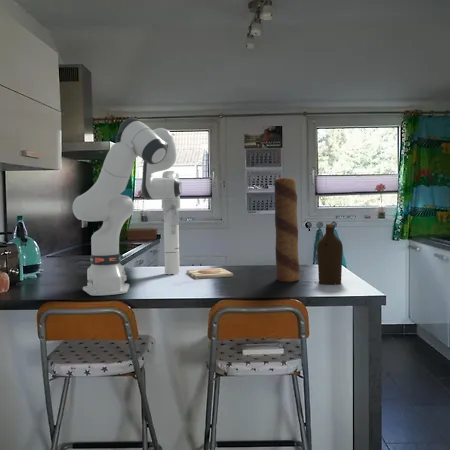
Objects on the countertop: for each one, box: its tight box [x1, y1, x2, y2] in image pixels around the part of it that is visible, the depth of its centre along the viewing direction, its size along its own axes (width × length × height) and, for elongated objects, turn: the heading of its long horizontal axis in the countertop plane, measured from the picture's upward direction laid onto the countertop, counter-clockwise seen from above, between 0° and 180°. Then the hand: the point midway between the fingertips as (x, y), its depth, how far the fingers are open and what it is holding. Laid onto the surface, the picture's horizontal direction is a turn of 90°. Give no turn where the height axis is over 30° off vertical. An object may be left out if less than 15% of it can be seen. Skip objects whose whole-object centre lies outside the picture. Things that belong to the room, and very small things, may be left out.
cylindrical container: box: [163, 222, 181, 275], centre depth 229 cm, size 7×7×25 cm
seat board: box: [186, 267, 234, 280], centre depth 225 cm, size 18×18×2 cm
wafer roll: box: [274, 177, 300, 283], centre depth 206 cm, size 10×11×45 cm
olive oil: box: [316, 223, 344, 286], centre depth 199 cm, size 11×11×25 cm
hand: (171, 233), depth 228 cm, fingers open, 8 cm apart
